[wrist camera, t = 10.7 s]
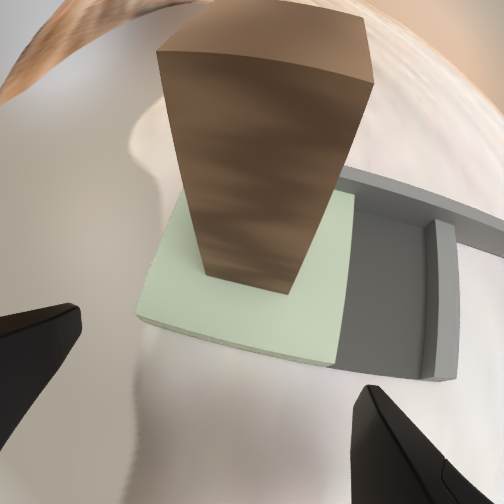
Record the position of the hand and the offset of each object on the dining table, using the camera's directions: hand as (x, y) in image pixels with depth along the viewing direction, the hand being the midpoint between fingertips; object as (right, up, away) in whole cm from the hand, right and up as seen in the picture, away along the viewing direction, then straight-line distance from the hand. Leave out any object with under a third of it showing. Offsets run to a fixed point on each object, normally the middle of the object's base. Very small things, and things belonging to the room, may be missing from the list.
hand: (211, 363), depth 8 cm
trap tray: (+11, 0, +12) cm, 16 cm away
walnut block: (+1, +3, +11) cm, 12 cm away
